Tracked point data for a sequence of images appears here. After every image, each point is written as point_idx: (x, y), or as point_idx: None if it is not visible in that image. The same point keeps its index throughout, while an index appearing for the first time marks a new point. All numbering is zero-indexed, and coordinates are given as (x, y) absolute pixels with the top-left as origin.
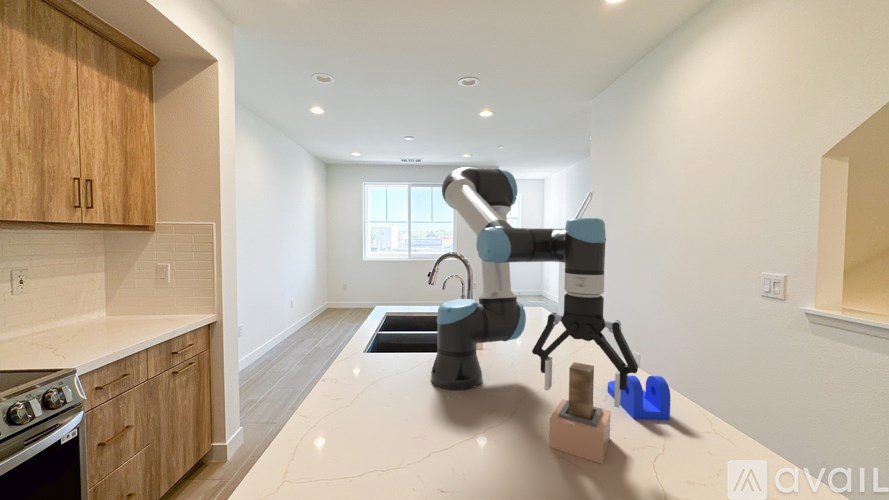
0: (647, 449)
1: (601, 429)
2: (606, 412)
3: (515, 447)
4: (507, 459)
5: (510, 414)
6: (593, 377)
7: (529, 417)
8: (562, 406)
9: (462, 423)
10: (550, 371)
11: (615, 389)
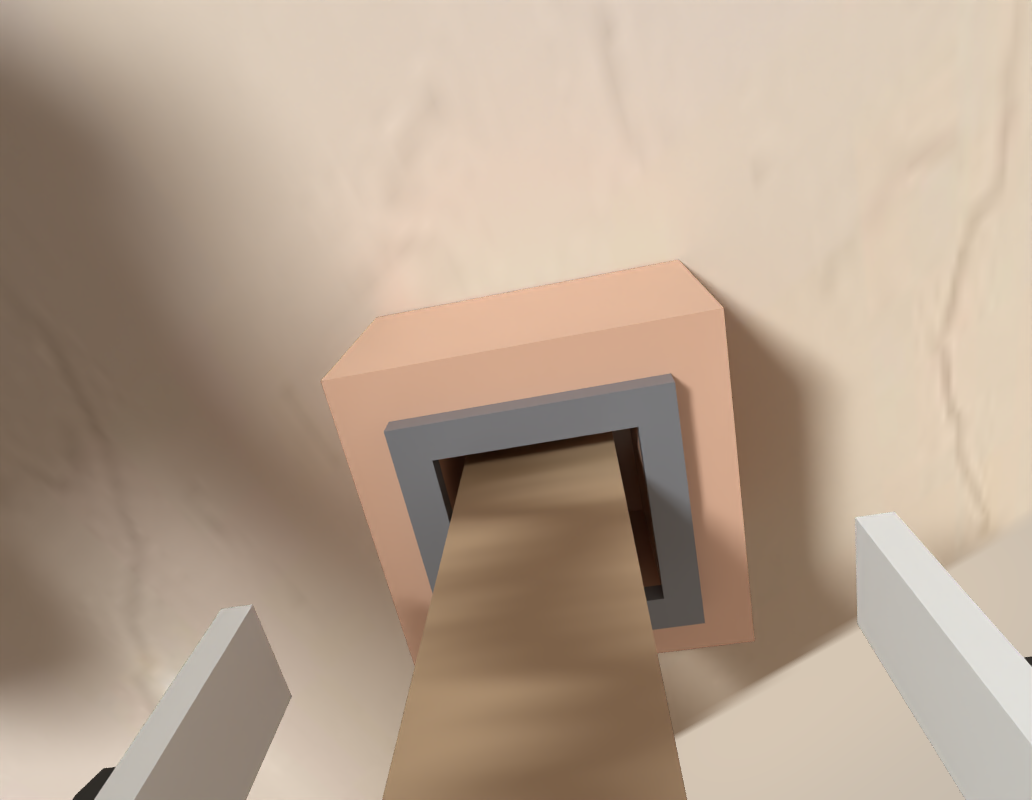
0: (907, 214)
1: (735, 614)
2: (701, 362)
3: (337, 660)
4: (370, 739)
5: (85, 423)
6: (660, 670)
7: (182, 374)
8: (394, 498)
9: (22, 660)
10: (192, 794)
11: (950, 764)
